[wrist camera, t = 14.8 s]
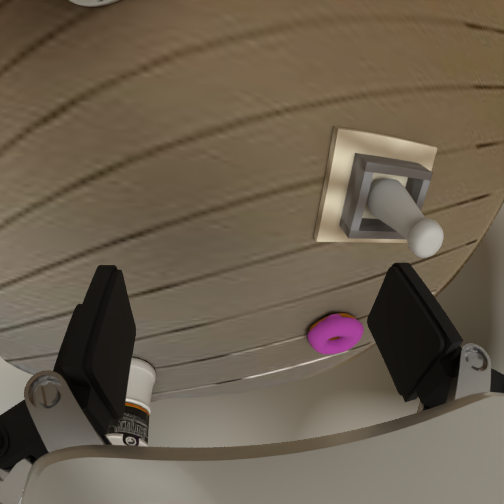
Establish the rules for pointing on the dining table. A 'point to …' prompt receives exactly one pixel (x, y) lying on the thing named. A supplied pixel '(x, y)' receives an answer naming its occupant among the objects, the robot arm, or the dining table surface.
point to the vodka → (135, 407)
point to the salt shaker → (404, 216)
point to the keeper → (368, 183)
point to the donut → (335, 333)
